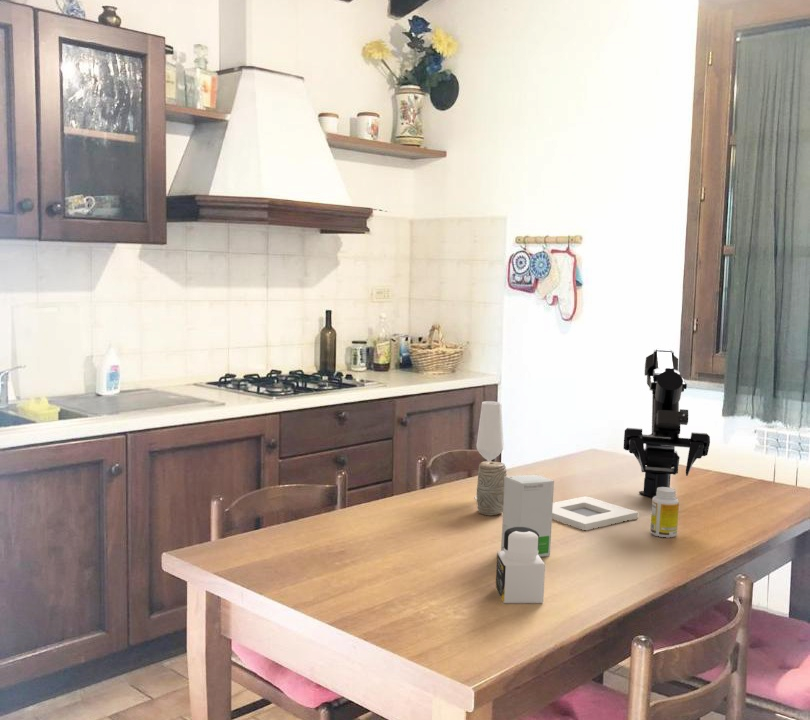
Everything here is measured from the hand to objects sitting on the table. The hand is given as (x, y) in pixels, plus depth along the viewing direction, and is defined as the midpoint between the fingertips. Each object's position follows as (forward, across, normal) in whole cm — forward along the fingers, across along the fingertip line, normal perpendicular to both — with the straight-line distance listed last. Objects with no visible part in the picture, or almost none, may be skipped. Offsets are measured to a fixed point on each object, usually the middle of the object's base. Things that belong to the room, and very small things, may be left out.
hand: (665, 473), depth 197 cm
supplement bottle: (+13, 0, +5) cm, 14 cm away
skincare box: (+29, -28, -11) cm, 42 cm away
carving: (+10, -39, +8) cm, 41 cm away
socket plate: (+6, -17, +11) cm, 21 cm away
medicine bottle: (+46, -26, -27) cm, 59 cm away
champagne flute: (+2, -41, +16) cm, 44 cm away
